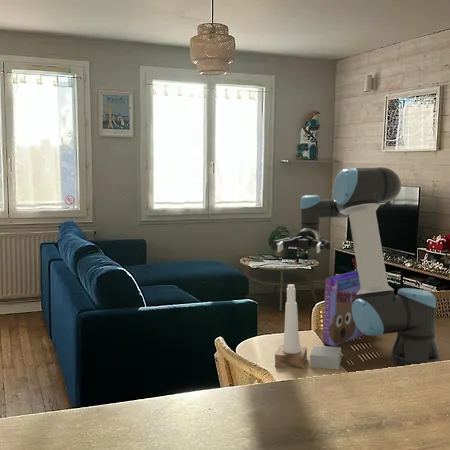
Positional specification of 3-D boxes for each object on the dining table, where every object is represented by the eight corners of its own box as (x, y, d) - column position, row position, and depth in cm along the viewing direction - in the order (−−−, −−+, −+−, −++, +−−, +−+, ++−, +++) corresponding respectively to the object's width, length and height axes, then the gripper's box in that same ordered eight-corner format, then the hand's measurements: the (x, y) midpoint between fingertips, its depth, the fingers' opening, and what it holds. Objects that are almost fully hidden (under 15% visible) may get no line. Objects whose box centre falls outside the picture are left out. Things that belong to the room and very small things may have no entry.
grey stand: (341, 359, 186) (341, 347, 186) (338, 369, 178) (338, 357, 177) (313, 356, 189) (313, 345, 188) (310, 367, 180) (310, 355, 180)
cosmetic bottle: (304, 349, 185) (303, 283, 182) (296, 355, 180) (295, 288, 177) (287, 346, 188) (286, 281, 185) (279, 351, 183) (278, 285, 180)
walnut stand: (306, 358, 188) (306, 347, 187) (303, 368, 179) (302, 356, 179) (280, 356, 190) (280, 345, 190) (275, 366, 182) (274, 354, 181)
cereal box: (333, 346, 198) (336, 280, 194) (322, 342, 202) (325, 277, 197) (363, 335, 209) (366, 272, 205) (352, 331, 213) (355, 269, 209)
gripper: (339, 249, 212) (334, 260, 192) (274, 247, 219) (262, 258, 199) (339, 229, 211) (334, 238, 191) (274, 228, 218) (262, 237, 198)
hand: (298, 248), depth 195 cm, fingers open, 13 cm apart
